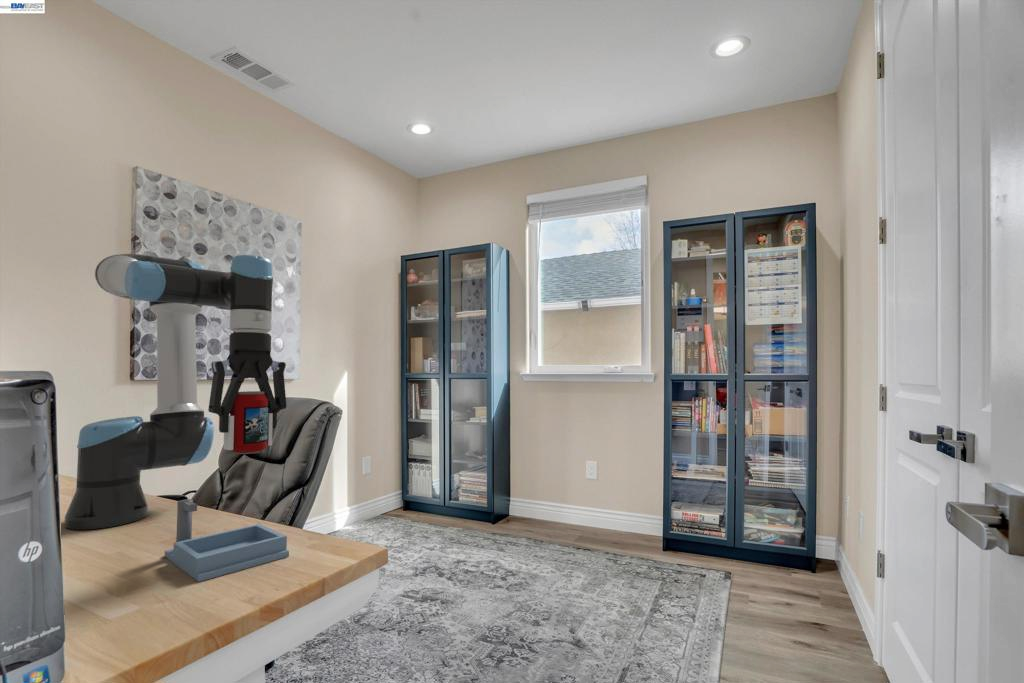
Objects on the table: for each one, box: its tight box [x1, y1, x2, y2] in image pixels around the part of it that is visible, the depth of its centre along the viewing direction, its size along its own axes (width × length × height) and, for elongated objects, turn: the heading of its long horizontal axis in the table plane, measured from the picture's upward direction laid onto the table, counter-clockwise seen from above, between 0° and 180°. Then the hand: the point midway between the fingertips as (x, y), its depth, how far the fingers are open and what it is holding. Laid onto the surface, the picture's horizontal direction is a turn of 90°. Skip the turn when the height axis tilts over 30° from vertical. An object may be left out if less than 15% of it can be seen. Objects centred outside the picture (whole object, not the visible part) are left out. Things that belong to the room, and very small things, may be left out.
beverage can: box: [229, 390, 268, 455], centre depth 102 cm, size 7×7×12 cm
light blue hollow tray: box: [164, 498, 290, 583], centre depth 95 cm, size 18×15×10 cm
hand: (248, 446), depth 101 cm, fingers closed on beverage can, 7 cm apart
